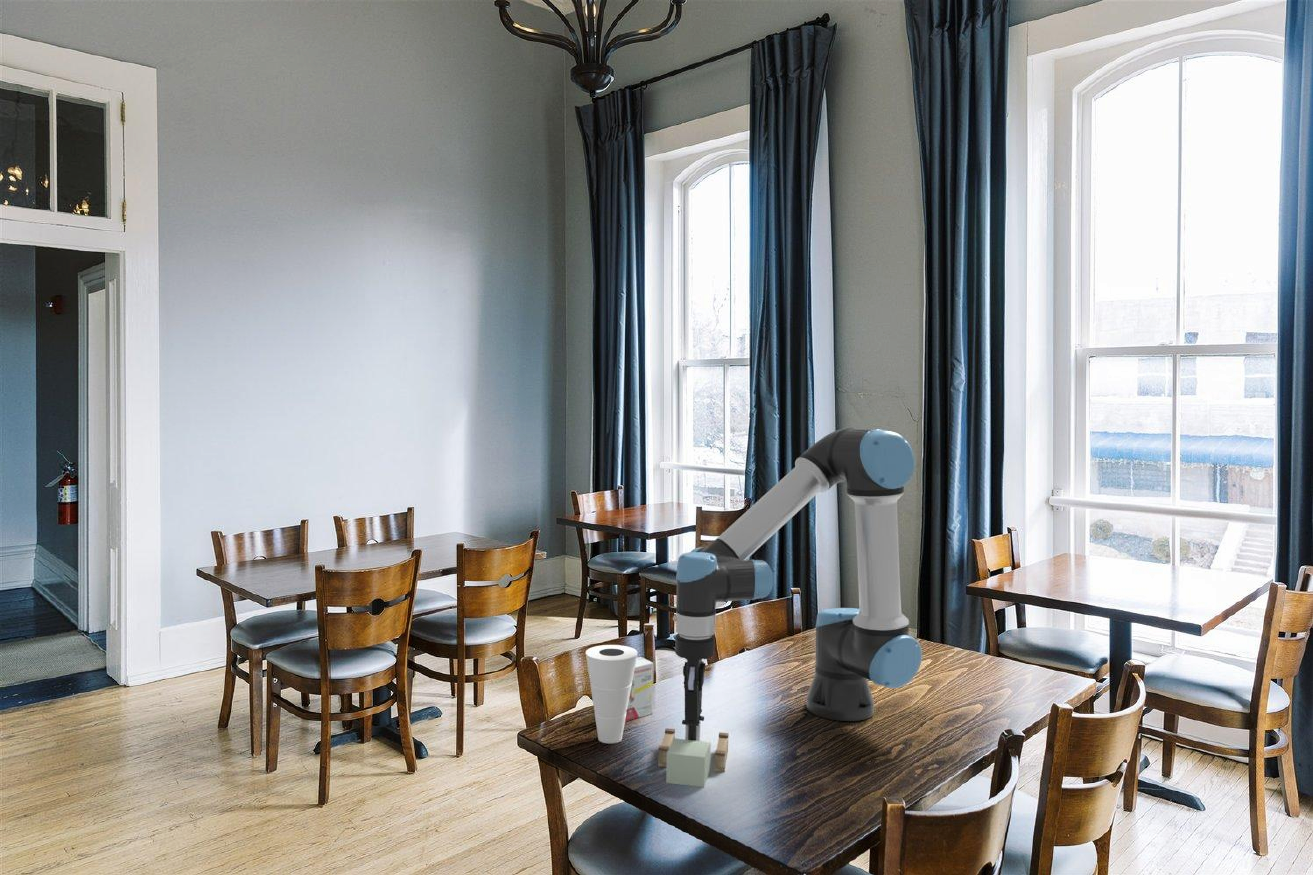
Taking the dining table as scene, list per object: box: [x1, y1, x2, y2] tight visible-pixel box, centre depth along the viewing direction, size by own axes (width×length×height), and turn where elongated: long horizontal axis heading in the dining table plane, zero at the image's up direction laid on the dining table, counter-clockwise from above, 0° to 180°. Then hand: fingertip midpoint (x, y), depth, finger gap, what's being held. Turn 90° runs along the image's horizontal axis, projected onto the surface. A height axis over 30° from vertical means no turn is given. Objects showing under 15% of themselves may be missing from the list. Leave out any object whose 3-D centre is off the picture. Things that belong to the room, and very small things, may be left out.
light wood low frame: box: [657, 727, 729, 773], centre depth 164 cm, size 13×10×4 cm
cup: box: [585, 644, 639, 744], centre depth 173 cm, size 11×11×18 cm
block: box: [665, 738, 712, 788], centre depth 156 cm, size 7×7×6 cm
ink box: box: [625, 656, 655, 723], centre depth 186 cm, size 9×5×12 cm, turn 130°
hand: (692, 755), depth 162 cm, fingers closed
